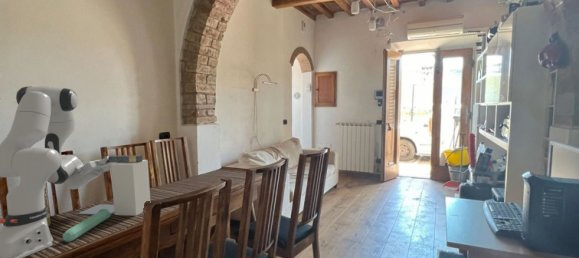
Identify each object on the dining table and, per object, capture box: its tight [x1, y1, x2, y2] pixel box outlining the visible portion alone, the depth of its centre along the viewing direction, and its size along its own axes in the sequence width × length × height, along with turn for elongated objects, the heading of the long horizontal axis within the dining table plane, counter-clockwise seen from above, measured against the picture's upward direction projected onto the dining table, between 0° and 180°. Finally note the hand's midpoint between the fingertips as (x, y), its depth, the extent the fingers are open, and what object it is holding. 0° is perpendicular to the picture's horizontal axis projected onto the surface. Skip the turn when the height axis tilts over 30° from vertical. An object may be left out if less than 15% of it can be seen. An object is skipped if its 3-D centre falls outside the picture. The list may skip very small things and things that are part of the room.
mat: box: [77, 203, 115, 216], centre depth 159 cm, size 14×18×1 cm
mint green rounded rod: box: [62, 209, 111, 242], centre depth 133 cm, size 6×6×25 cm
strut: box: [102, 154, 143, 163], centre depth 155 cm, size 4×20×3 cm, turn 82°
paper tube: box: [44, 181, 51, 227], centre depth 137 cm, size 7×7×25 cm
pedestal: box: [110, 159, 151, 217], centre depth 155 cm, size 12×12×26 cm
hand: (111, 157), depth 156 cm, fingers closed on strut, 3 cm apart
